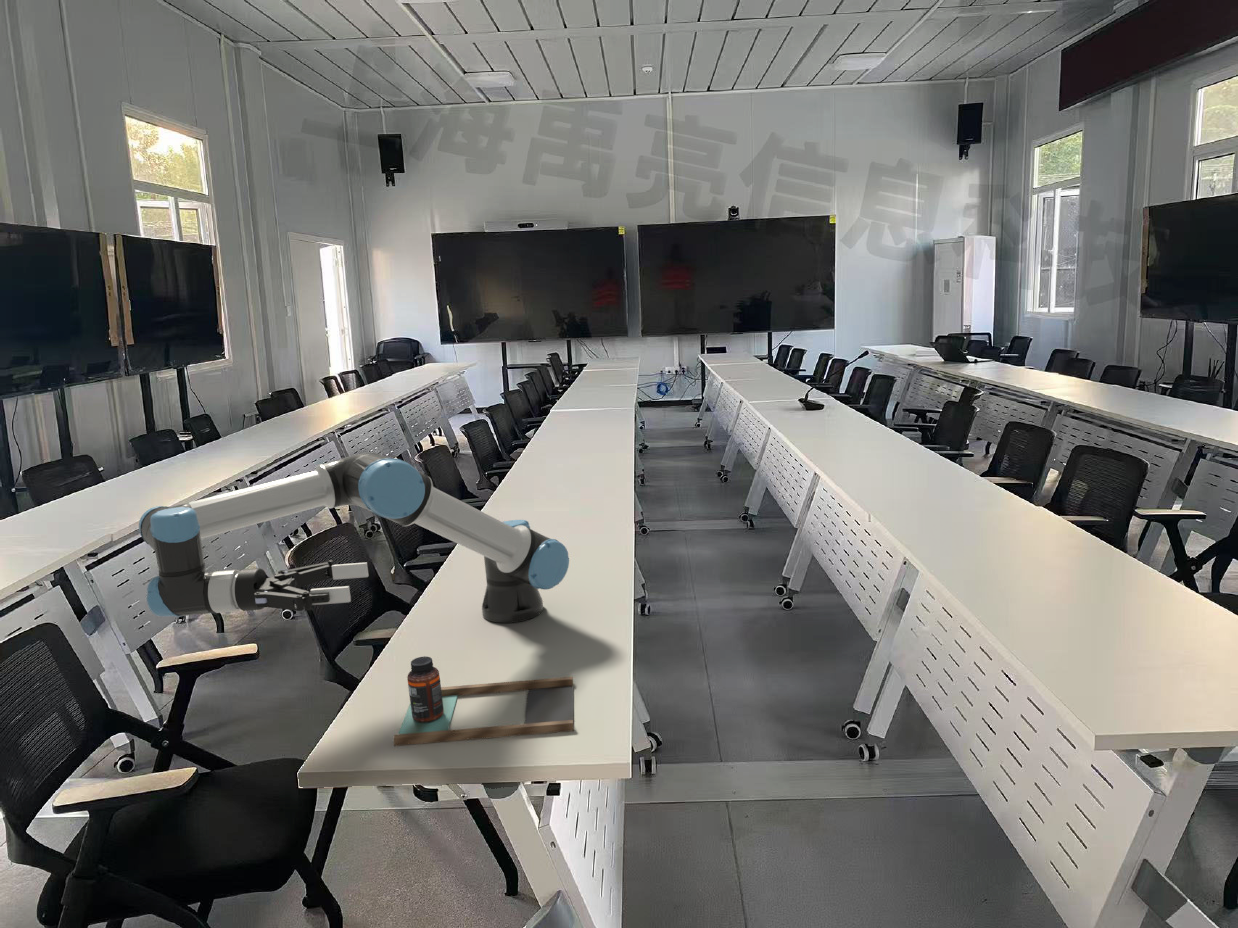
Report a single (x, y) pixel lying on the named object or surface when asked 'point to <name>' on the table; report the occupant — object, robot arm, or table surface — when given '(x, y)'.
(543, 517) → the table surface
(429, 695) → the supplement bottle
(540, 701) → the channel track
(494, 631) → the table surface
